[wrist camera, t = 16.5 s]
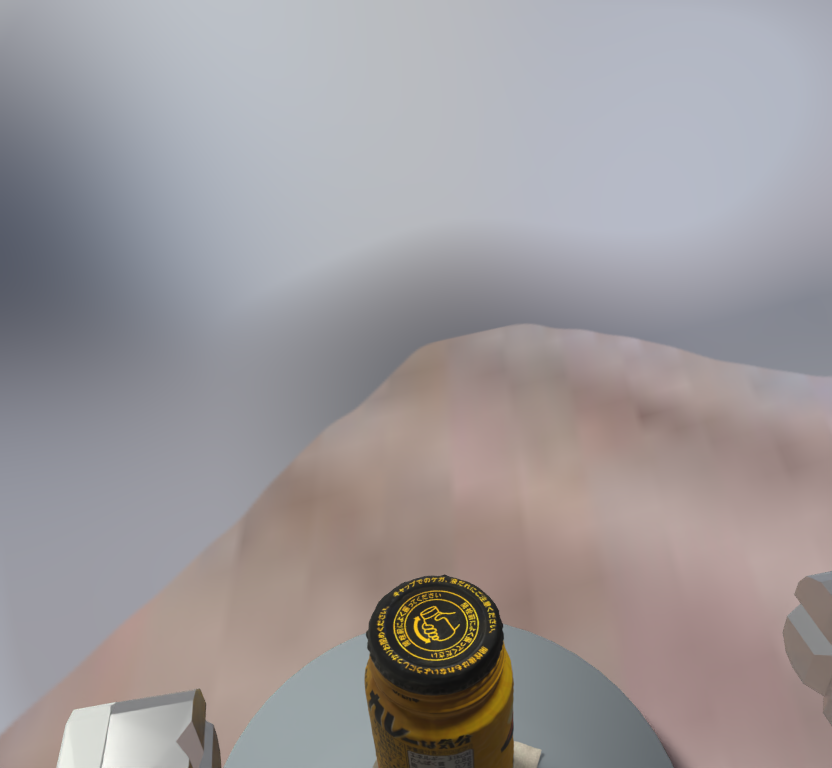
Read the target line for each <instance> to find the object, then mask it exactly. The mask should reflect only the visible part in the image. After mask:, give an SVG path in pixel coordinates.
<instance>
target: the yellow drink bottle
mask: <svg viewBox="0 0 832 768" xmlns="http://www.w3.org/2000/svg"><path fill="white" fill-rule="evenodd" d="M502 629H503V624H502V621H501V619H500V615H499V610H498V608H497V606H496V605H495V603H494V602H493V601H492V599H491V598H490V597H489V596H488V595H487V594H485V593H484V592H483V591H482V590H481V589H480V588H478V587H477V586H475V585H473V584H471V583H469V582H466V581H463V580H460V579H457V578H453V577H449V576H447V575H442V576H424V577H421V578H417V579H414V580H411V581H408V582H404V583H402V584H400V585H399V586H398V587H396V588H394V589H393V590H392V591H391V592H389V593H388V594H387V595H385V596H384V597H383V598H382V599H381V600H380V601H379V603H378V604H377V606H376V609H375V611H374V612H373V614H372V616H371V619H370V621H369V630H368V631H367V632H366V637H367V639H368V642H367V649H368V651H369V652H370V654H369V659H368V662H367V666H366V668H365V677H364V681H365V693H366V699H367V705H368V712H369V716H370V722H371V728H372V735H373V739H374V745H375V751H376V757H377V759H376V761H375V763H374V766H373V768H537V765H538V761H539V758H540V755H541V751H542V750H541V749H537V748H534V747H532V746H528V745H526V744H523V743H520V742H516V741H514V740H513V731H514V722H513V713H514V712H513V702H514V701H513V700H514V696H513V693H514V688H513V687H514V679H513V671H512V665H511V660H510V657H509V655H508V653H507V651H506V649H505V644H504V633H503V630H502Z"/></svg>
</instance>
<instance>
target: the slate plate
mask: <svg viewBox="0 0 832 768" xmlns="http://www.w3.org/2000/svg"><path fill="white" fill-rule="evenodd" d="M502 630H503V633H504V644H505V649H506V651H507V653H508V655H509V657H510V660H511V665H512V671H513V679H514V687H513V688H514V693H513V696H514V700H513V701H514V702H513V712H514V713H513V722H514V731H513V740H514V741H516V742H520V743H523V744H526V745H528V746H532V747H534V748H537V749H541V750H542V751H541V755H540V758H539V761H538V765H537V768H674V767H673V765H672V763H671V761H670V759H669V757H668V755H667V753H666V752H665V750H664V748H663V746H662V744H661V742H660V741H659V739H658V737H657V735H656V734H655V732H654V731H653V730H652V728H651V727H650V725H649V724H648V723H647V721H646V720H645V718H644V717H643V715H642V714H641V713H640V711H639V710H638V709H637V708H636V707H635V706H634V704H633V703H632V702H631V701H630V700H629V699H628V698H627V697H626V696H625V694H624V693H623V692H622V691H621V690H620V689H619V688H618V687H617V686H616V685H615V684H613V683H612V682H611V681H610V680H609V679H608V678H607V677H606V676H604V675H603V674H602V673H601V672H600V671H599V670H597V669H596V668H595V667H593V666H592V665H590V664H589V663H587V662H586V661H585V660H583V659H582V658H580V657H579V656H578V655H576V654H574V653H572V652H571V651H569V650H567V649H565V648H563V647H562V646H560V645H558V644H556V643H554V642H552V641H550V640H548V639H545V638H543V637H541V636H538V635H536V634H533V633H531V632H529V631H525V630H522V629H518V628H515V627H512V626H508V625H505V624H503V629H502ZM367 642H368V639H367V637H366V633H365V634H362V635H359V636H357V637H354V638H352V639H350V640H348V641H346V642H344V643H342V644H340V645H338V646H336V647H334V648H332V649H330V650H329V651H327V652H326V653H324V654H322V655H321V656H319V657H318V658H316V659H314V660H313V661H311V662H310V663H308V664H307V665H306V666H305V667H303V668H302V669H301V670H299V671H298V672H297V673H296V674H294V675H293V676H292V677H291V678H289V679H288V680H287V681H286V682H285V683H284V684H283V685H282V686H281V687H280V688H279V689H278V690H277V691H276V692H275V693H274V694H273V695H272V696H271V697H270V698H269V699H268V700H267V701H266V703H265V704H264V705H263V706H262V707H261V709H260V710H259V711H258V712H257V713H256V715H255V716H254V717H253V718H252V720H251V721H250V722H249V724H248V726H247V727H246V729H245V730H244V732H243V733H242V735H241V736H240V738H239V739H238V741H237V742H236V744H235V746H234V748H233V750H232V752H231V754H230V756H229V758H228V760H227V762H226V764H225V765H224V767H223V768H373V766H374V763H375V761H376V759H377V757H376V751H375V745H374V739H373V735H372V728H371V722H370V716H369V712H368V705H367V699H366V693H365V681H364V677H365V668H366V666H367V662H368V659H369V654H370V652H369V651H368V649H367Z"/></svg>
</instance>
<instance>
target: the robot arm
mask: <svg viewBox="0 0 832 768" xmlns="http://www.w3.org/2000/svg"><path fill="white" fill-rule="evenodd" d="M794 595H795V596H796V598H797V599H798V600H799V602H800V603H801V604H800V605H799V606H798V607H796V608H795V609H794V610H793V611H792V612H791V613H790V614H789V615H788V616H787V619H786V622H785V626H784V630H783V637H784V643H785V649H786V653H787V655H788V658H789V660H790V662H791V665H792V667H793V669H794V670H795V672H796V673H797V675H798V676H799V678H800V679H801V681H802V682H803V684H805V685H806V686H808V687H810V688H811V689H813V690H814V691H816V692H818V693H819V694H821V695H823V696H824V698H823V714H824V715H825V717H826V718H827V720H828V721H829V723H830V724H831V726H832V571H830V572H825V573H820V574H815V575H810V576H806V577H805V578H804V579H802V580H801V581H800V582H799V583H798V586H797V589H796V591H795V594H794ZM205 717H206V702H205V700H204V697H203V695H202V692H201V690H200V689H194V690H188V691H182V692H176V693H170V694H164V695H158V696H152V697H146V698H140V699H134V700H128V701H122V702H114V703H109V704H103V705H98V706H92V707H87V708H81V709H76V710H73V712H72V714H71V716H70V718H69V720H68V722H67V724H66V726H65V731H64V735H63V740H62V745H61V749H60V754H59V758H58V763H57V768H221V757H220V749H219V743H218V738H217V734H216V731H215V728H214V725H213V724H211V723H209V722H207V721H206V720H205Z"/></svg>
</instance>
